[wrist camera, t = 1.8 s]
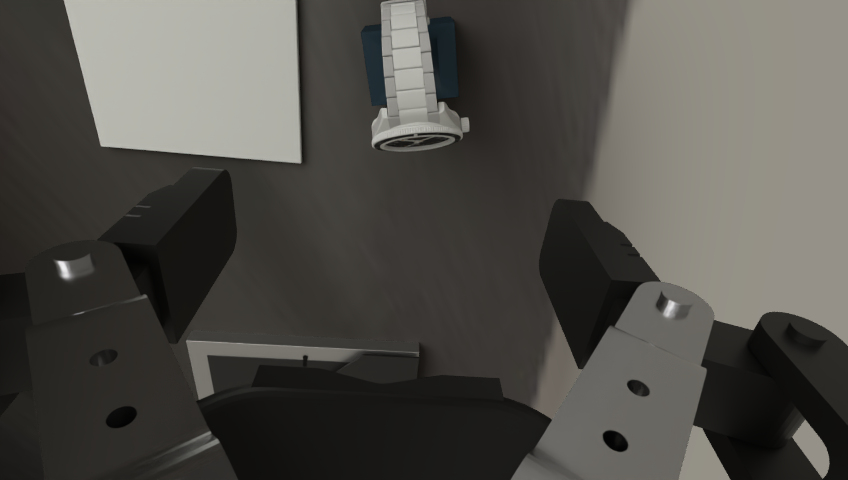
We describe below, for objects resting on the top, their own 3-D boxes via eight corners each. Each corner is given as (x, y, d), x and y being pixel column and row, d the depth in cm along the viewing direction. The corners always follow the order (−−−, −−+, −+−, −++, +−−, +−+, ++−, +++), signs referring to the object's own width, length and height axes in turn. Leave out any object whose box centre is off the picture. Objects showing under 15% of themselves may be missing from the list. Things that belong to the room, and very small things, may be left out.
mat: (23, -184, 25) (16, -187, 25) (292, -149, 26) (290, -151, 26) (105, 143, 34) (101, 146, 34) (302, 160, 35) (300, 163, 35)
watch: (379, 121, 34) (367, 185, 24) (360, -5, 30) (336, 12, 20) (458, 113, 34) (476, 174, 24) (450, -15, 29) (468, -3, 20)
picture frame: (418, 336, 45) (195, 324, 44) (419, 358, 43) (182, 346, 41) (406, 442, 53) (217, 435, 52) (406, 466, 51) (207, 459, 49)
